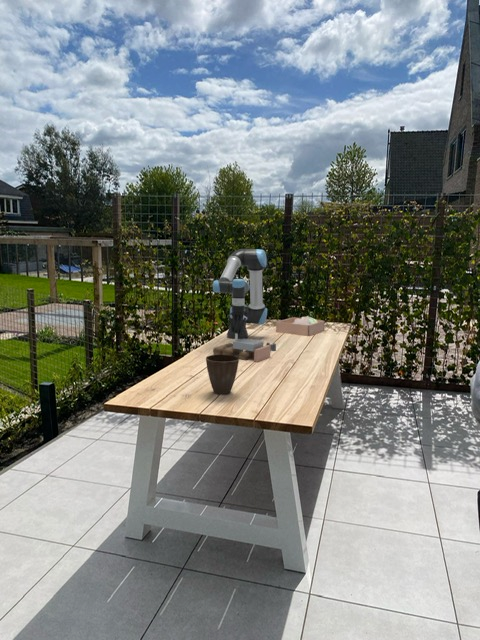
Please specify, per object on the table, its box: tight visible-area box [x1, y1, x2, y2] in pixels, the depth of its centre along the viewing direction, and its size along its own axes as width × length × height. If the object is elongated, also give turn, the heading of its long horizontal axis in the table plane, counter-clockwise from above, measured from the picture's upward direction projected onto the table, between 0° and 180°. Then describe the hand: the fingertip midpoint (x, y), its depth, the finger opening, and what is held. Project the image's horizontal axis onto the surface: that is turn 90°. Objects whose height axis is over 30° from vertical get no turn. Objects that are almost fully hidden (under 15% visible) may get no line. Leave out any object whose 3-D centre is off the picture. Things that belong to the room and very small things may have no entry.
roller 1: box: [212, 342, 233, 355], centre depth 302 cm, size 16×5×5 cm, turn 149°
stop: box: [253, 345, 271, 363], centre depth 288 cm, size 16×2×7 cm, turn 149°
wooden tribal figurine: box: [293, 315, 317, 325], centre depth 387 cm, size 14×14×24 cm
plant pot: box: [205, 354, 240, 396], centre depth 221 cm, size 15×15×16 cm
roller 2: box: [222, 346, 244, 356], centre depth 299 cm, size 16×5×5 cm, turn 149°
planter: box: [275, 316, 326, 337], centre depth 384 cm, size 30×27×8 cm
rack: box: [265, 342, 277, 352], centre depth 307 cm, size 16×6×4 cm, turn 149°
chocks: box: [212, 353, 254, 361], centre depth 298 cm, size 16×23×1 cm
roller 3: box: [238, 350, 254, 361], centre depth 293 cm, size 16×5×5 cm, turn 149°
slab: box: [232, 338, 264, 351], centre depth 292 cm, size 12×14×4 cm
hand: (237, 343), depth 296 cm, fingers closed
